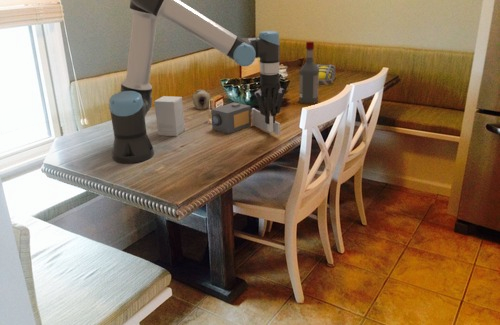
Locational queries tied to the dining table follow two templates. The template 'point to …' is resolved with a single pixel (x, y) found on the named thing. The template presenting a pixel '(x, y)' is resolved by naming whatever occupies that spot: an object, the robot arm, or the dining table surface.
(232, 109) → the camera case
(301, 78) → the liquor
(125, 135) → the robot arm
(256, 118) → the side door
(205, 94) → the garlic bulb
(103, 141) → the dining table surface
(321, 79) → the cage light
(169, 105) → the supplement box
